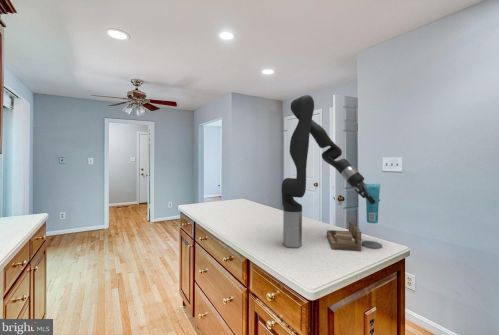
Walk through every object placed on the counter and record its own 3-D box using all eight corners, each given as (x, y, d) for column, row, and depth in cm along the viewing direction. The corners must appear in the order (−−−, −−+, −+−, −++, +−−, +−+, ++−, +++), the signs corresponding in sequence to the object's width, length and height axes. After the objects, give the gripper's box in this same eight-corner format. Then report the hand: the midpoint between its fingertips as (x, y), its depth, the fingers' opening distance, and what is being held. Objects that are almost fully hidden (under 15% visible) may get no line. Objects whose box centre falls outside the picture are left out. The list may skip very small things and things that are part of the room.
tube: (376, 220, 126) (377, 183, 125) (382, 223, 121) (383, 184, 120) (362, 221, 125) (362, 183, 124) (367, 224, 121) (368, 184, 120)
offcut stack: (355, 249, 119) (355, 236, 118) (336, 248, 120) (336, 235, 120) (351, 243, 127) (351, 231, 127) (333, 242, 129) (333, 230, 129)
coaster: (384, 249, 118) (384, 247, 118) (364, 248, 120) (364, 246, 120) (378, 243, 127) (378, 241, 127) (359, 241, 129) (359, 240, 129)
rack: (361, 251, 116) (361, 232, 116) (331, 249, 119) (332, 230, 118) (351, 236, 137) (351, 220, 137) (326, 235, 140) (327, 219, 139)
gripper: (351, 172, 123) (376, 199, 115) (363, 170, 133) (387, 196, 124) (340, 182, 127) (364, 209, 119) (353, 180, 137) (375, 205, 129)
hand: (376, 202), depth 122 cm, fingers closed on tube, 5 cm apart
